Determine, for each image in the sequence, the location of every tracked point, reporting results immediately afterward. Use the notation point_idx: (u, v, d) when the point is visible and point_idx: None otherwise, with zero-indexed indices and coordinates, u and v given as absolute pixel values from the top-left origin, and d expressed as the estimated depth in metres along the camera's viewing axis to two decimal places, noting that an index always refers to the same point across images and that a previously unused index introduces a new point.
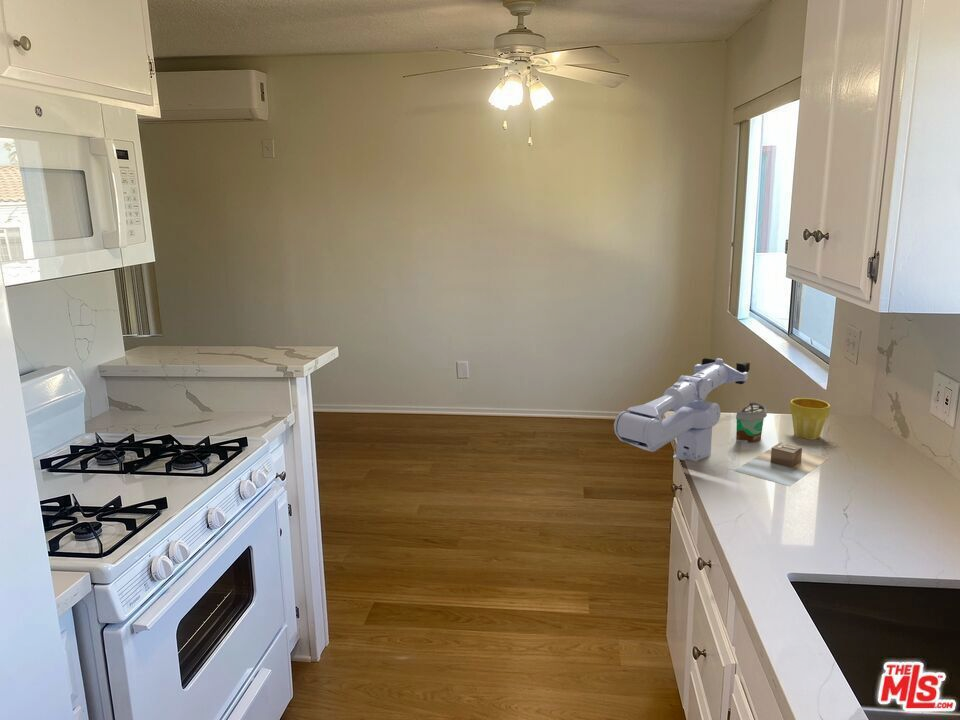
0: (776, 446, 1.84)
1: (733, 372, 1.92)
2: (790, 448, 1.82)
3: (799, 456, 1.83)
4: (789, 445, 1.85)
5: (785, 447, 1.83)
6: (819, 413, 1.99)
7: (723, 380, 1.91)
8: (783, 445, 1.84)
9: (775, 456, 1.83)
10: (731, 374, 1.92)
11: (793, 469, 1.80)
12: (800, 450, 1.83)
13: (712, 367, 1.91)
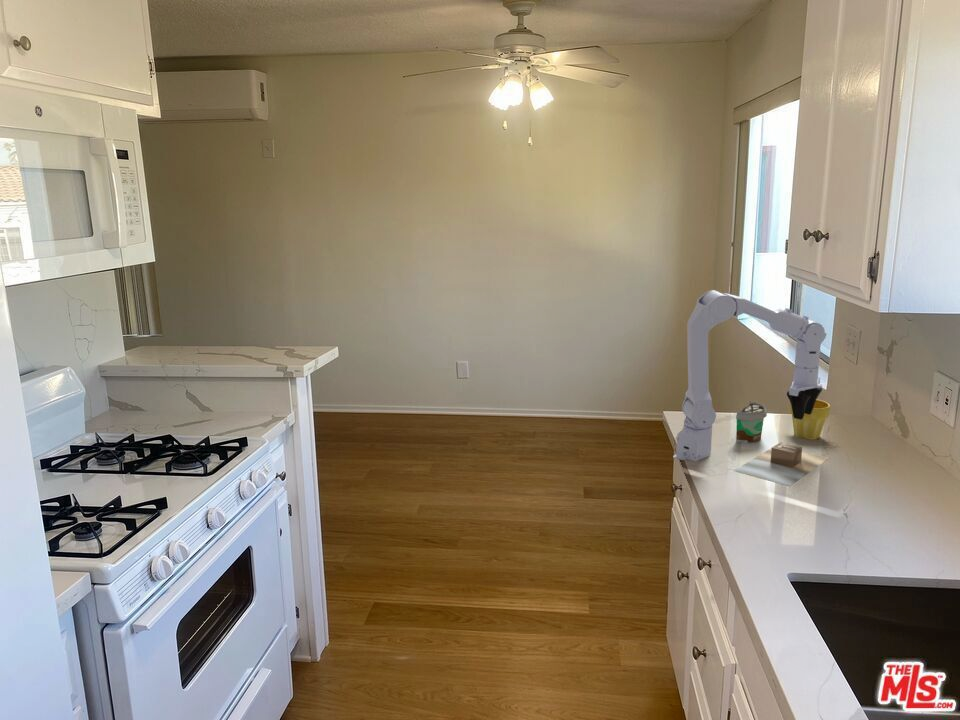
0: (776, 446, 1.84)
1: None
2: (790, 448, 1.82)
3: (799, 456, 1.83)
4: (789, 445, 1.85)
5: (785, 447, 1.83)
6: (819, 413, 1.99)
7: (798, 374, 1.86)
8: (783, 445, 1.84)
9: (775, 456, 1.83)
10: (800, 386, 1.86)
11: (793, 469, 1.80)
12: (800, 450, 1.83)
13: (817, 370, 1.85)
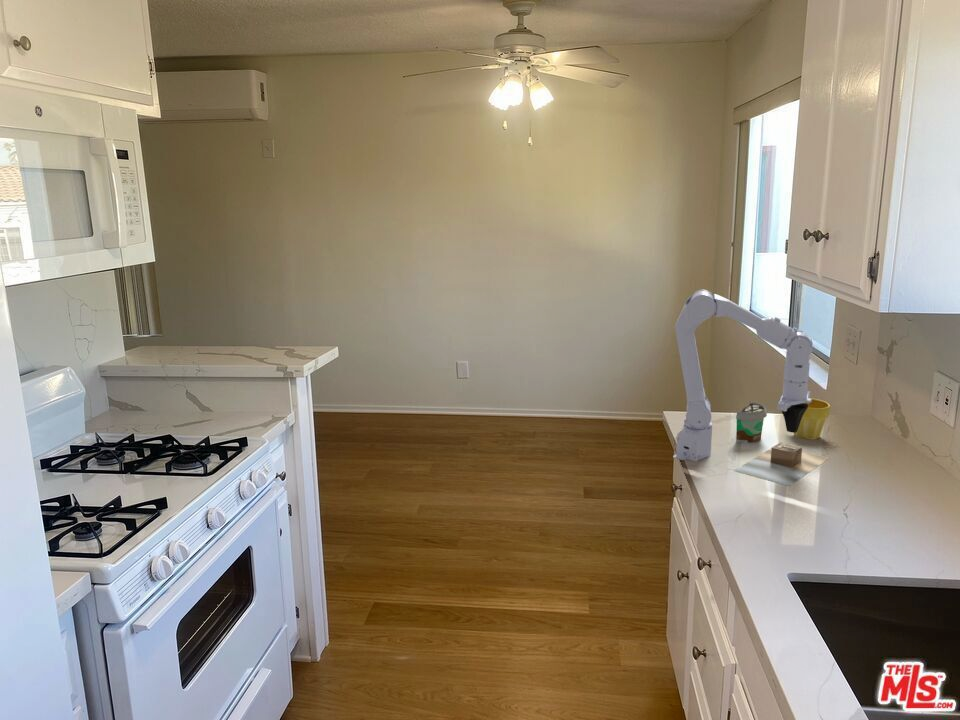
0: (776, 446, 1.84)
1: None
2: (790, 448, 1.82)
3: (799, 456, 1.83)
4: (789, 445, 1.85)
5: (785, 447, 1.83)
6: (819, 413, 1.99)
7: (787, 389, 1.80)
8: (783, 445, 1.84)
9: (775, 456, 1.83)
10: (789, 401, 1.79)
11: (793, 469, 1.80)
12: (800, 450, 1.83)
13: (806, 384, 1.79)
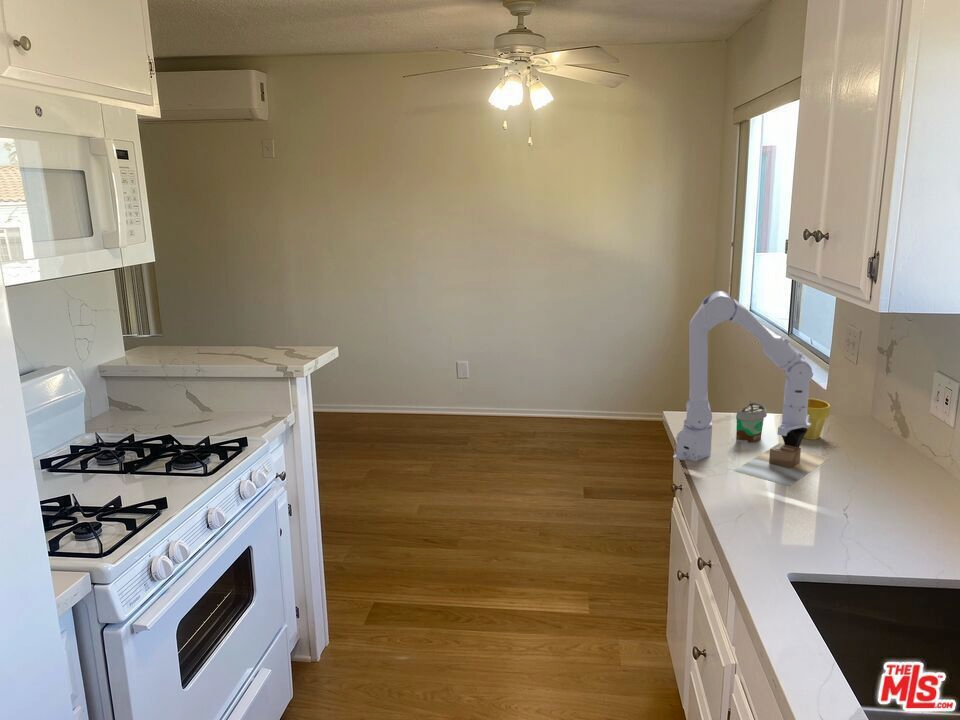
0: (775, 447, 1.83)
1: None
2: (789, 449, 1.82)
3: (798, 457, 1.82)
4: (788, 446, 1.84)
5: (784, 448, 1.82)
6: (819, 413, 1.99)
7: (787, 413, 1.82)
8: (782, 446, 1.84)
9: (774, 457, 1.82)
10: (789, 425, 1.82)
11: (793, 469, 1.80)
12: (799, 451, 1.82)
13: (806, 409, 1.81)
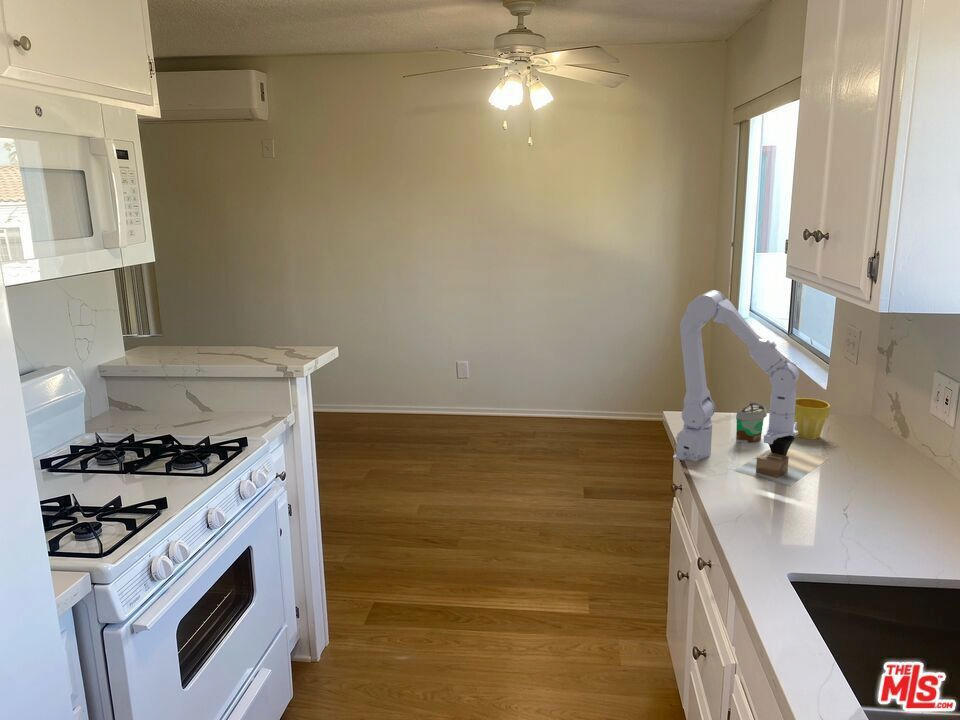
0: (762, 456, 1.78)
1: None
2: (776, 458, 1.76)
3: (785, 466, 1.77)
4: (775, 455, 1.79)
5: (771, 457, 1.77)
6: (819, 413, 1.99)
7: (773, 420, 1.77)
8: (769, 455, 1.78)
9: (761, 466, 1.77)
10: (775, 433, 1.76)
11: (793, 469, 1.80)
12: (786, 460, 1.77)
13: (793, 416, 1.76)
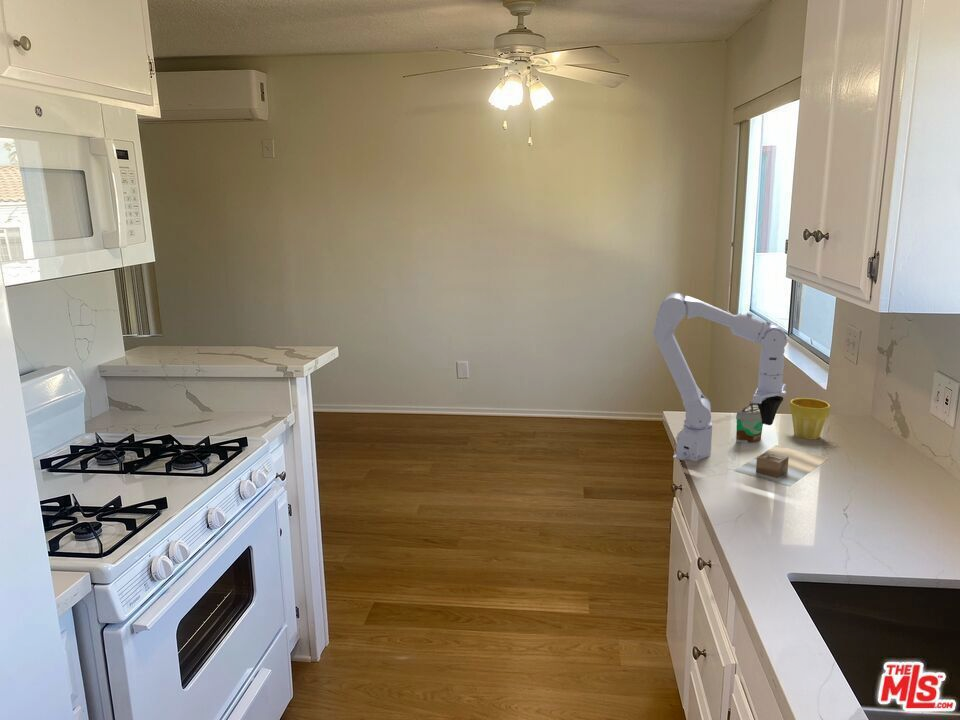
0: (762, 456, 1.78)
1: None
2: (776, 458, 1.76)
3: (785, 466, 1.77)
4: (775, 455, 1.79)
5: (771, 457, 1.77)
6: (819, 413, 1.99)
7: (762, 381, 1.81)
8: (769, 455, 1.78)
9: (761, 466, 1.77)
10: (764, 393, 1.80)
11: (793, 469, 1.80)
12: (786, 460, 1.77)
13: (781, 376, 1.80)
